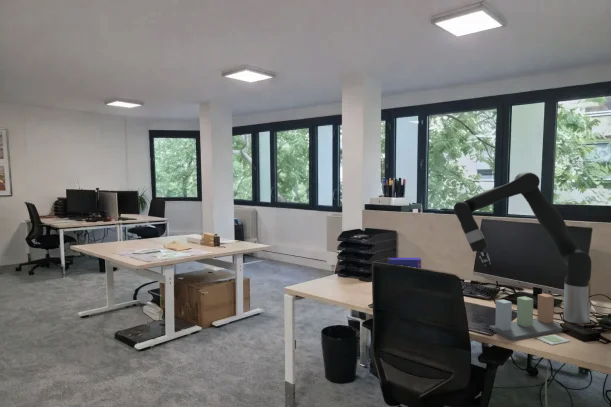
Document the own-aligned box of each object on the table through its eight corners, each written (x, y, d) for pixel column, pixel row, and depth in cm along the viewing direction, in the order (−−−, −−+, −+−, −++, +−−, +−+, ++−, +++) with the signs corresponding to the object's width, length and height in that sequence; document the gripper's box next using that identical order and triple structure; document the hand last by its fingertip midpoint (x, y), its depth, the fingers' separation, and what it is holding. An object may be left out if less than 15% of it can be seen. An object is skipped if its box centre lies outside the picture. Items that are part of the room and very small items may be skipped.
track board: (542, 320, 186) (542, 317, 186) (568, 330, 174) (568, 326, 173) (489, 329, 176) (489, 326, 176) (512, 340, 164) (512, 336, 164)
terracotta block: (544, 318, 183) (545, 293, 182) (553, 322, 179) (553, 296, 178) (537, 320, 182) (537, 294, 181) (545, 323, 178) (546, 297, 177)
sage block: (524, 322, 180) (524, 296, 179) (532, 325, 175) (533, 299, 175) (516, 323, 178) (517, 297, 177) (525, 327, 174) (525, 300, 173)
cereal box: (419, 300, 220) (419, 257, 219) (421, 302, 215) (421, 259, 214) (387, 299, 222) (387, 257, 220) (388, 302, 217) (388, 259, 216)
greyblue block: (503, 325, 176) (503, 299, 175) (511, 329, 172) (511, 302, 171) (495, 327, 174) (495, 300, 174) (503, 330, 170) (503, 303, 170)
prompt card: (554, 335, 168) (554, 333, 168) (570, 341, 162) (570, 340, 162) (536, 338, 165) (536, 337, 165) (551, 345, 159) (551, 343, 159)
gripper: (483, 237, 183) (500, 270, 179) (484, 237, 196) (499, 268, 192) (467, 243, 186) (483, 276, 182) (469, 242, 198) (484, 273, 195)
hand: (491, 271), depth 187 cm, fingers open, 8 cm apart
